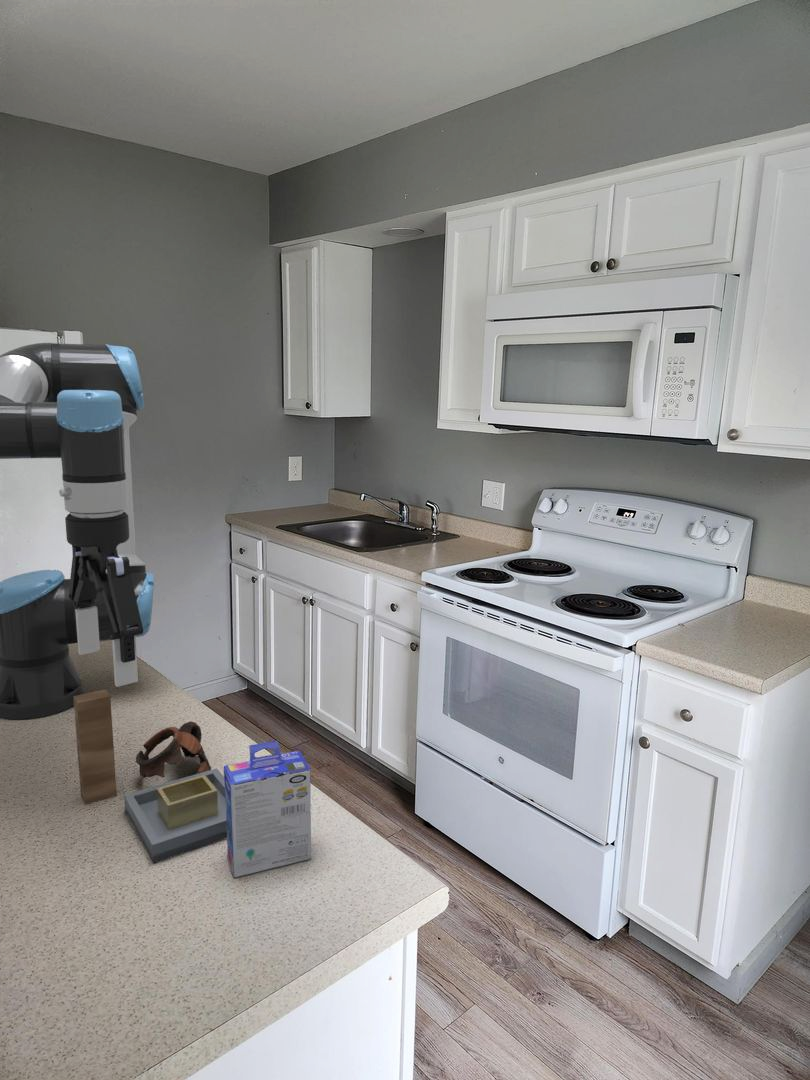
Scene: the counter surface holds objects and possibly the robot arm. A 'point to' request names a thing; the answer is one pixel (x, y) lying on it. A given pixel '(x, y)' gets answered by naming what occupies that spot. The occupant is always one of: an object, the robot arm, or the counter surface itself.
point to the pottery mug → (173, 750)
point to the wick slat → (95, 746)
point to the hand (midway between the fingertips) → (107, 667)
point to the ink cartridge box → (267, 810)
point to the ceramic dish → (183, 838)
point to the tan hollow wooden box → (187, 802)
